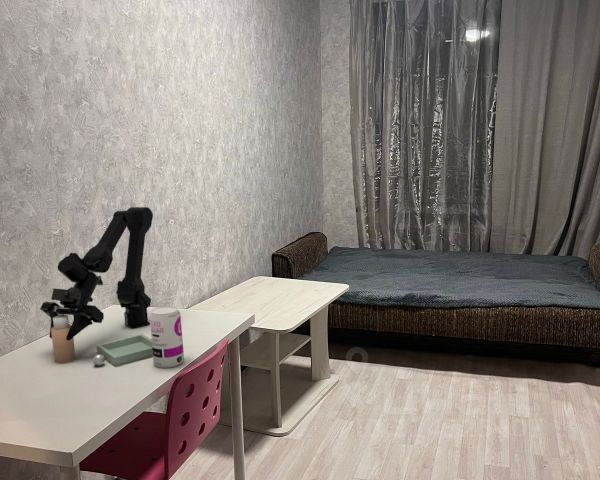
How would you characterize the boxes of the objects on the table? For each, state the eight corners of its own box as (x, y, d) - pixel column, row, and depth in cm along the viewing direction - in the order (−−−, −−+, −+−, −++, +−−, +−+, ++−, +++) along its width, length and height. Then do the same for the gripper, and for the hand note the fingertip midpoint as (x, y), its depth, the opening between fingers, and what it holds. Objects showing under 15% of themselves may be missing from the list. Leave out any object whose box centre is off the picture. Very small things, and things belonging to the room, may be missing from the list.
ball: (102, 362, 169) (101, 351, 169) (107, 365, 167) (106, 354, 166) (91, 365, 167) (90, 354, 167) (95, 368, 165) (94, 357, 164)
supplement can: (187, 357, 170) (183, 305, 168) (179, 368, 162) (174, 314, 159) (159, 357, 171) (155, 306, 168) (149, 369, 163) (144, 314, 160)
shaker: (72, 354, 176) (67, 313, 174) (78, 359, 172) (73, 317, 170) (52, 359, 173) (47, 317, 171) (58, 364, 169) (53, 321, 167)
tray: (142, 342, 185) (142, 334, 184) (163, 353, 174) (162, 345, 174) (97, 353, 176) (96, 345, 176) (115, 366, 166) (114, 357, 165)
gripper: (41, 274, 176) (15, 322, 167) (92, 277, 169) (68, 328, 160) (64, 294, 184) (40, 340, 176) (114, 298, 177) (91, 346, 169)
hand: (59, 338), depth 170 cm, fingers closed on shaker, 6 cm apart
